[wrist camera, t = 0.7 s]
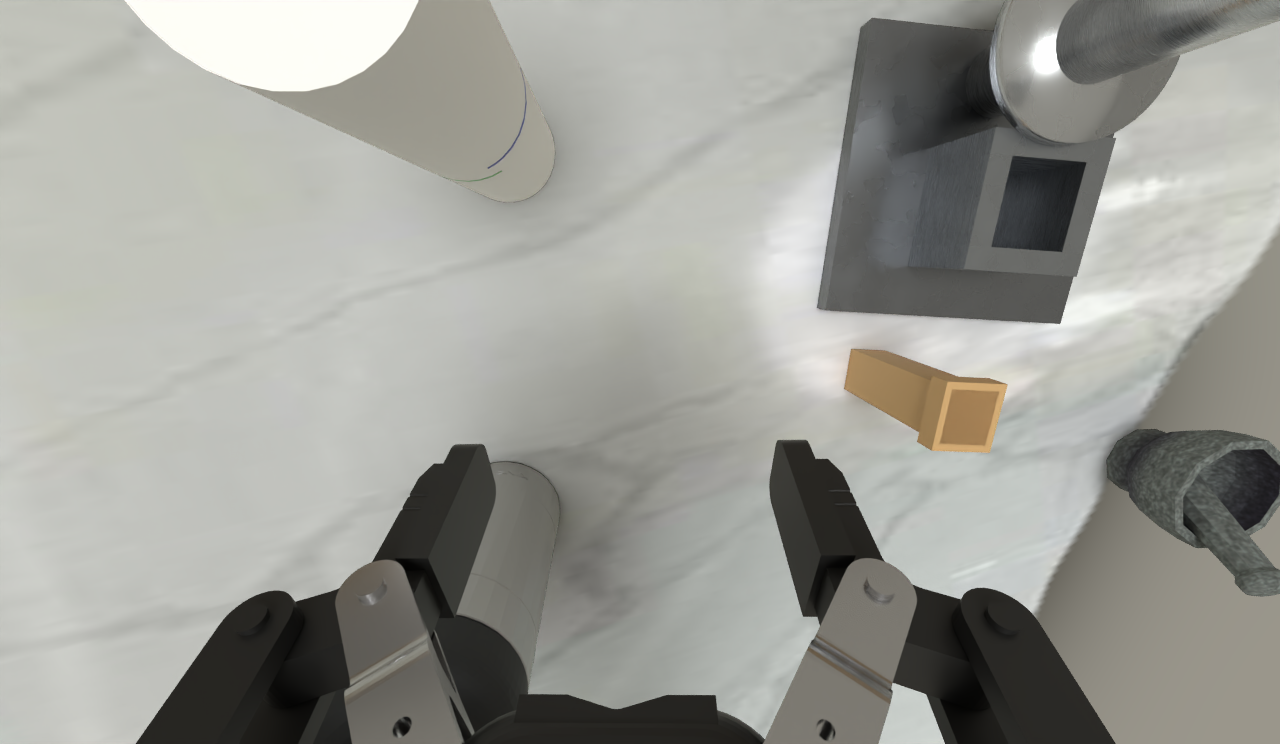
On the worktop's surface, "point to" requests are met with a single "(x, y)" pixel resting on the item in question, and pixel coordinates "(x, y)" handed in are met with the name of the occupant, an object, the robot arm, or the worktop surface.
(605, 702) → the worktop surface
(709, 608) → the worktop surface
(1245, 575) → the mortar and pestle
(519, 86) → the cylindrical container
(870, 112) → the grey fixture with cylinder
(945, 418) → the orange square peg
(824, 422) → the worktop surface
